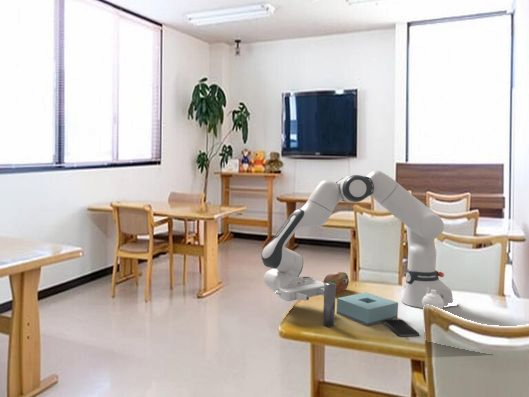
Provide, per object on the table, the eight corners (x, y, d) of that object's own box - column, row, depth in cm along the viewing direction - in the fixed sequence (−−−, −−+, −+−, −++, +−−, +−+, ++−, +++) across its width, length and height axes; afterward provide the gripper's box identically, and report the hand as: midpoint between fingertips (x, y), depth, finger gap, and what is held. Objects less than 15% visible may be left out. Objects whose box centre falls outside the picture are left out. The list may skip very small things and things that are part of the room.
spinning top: (417, 321, 184) (419, 289, 183) (426, 316, 190) (428, 286, 189) (437, 326, 179) (439, 294, 178) (446, 321, 185) (448, 290, 184)
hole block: (365, 306, 200) (366, 292, 200) (397, 318, 188) (398, 302, 187) (336, 313, 191) (337, 298, 191) (367, 325, 178) (368, 309, 178)
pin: (331, 322, 180) (333, 282, 179) (335, 326, 177) (337, 285, 175) (321, 323, 180) (322, 282, 178) (325, 327, 176) (326, 285, 174)
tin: (327, 295, 216) (327, 276, 215) (321, 293, 218) (322, 274, 217) (348, 289, 226) (349, 271, 225) (343, 288, 228) (344, 270, 227)
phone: (398, 334, 168) (381, 319, 183) (398, 338, 168) (381, 322, 183) (420, 334, 169) (402, 319, 184) (420, 337, 169) (402, 322, 184)
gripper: (272, 283, 188) (295, 291, 176) (313, 276, 199) (337, 284, 188) (271, 299, 188) (294, 309, 177) (313, 291, 200) (337, 300, 189)
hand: (317, 296), depth 183 cm, fingers open, 8 cm apart
